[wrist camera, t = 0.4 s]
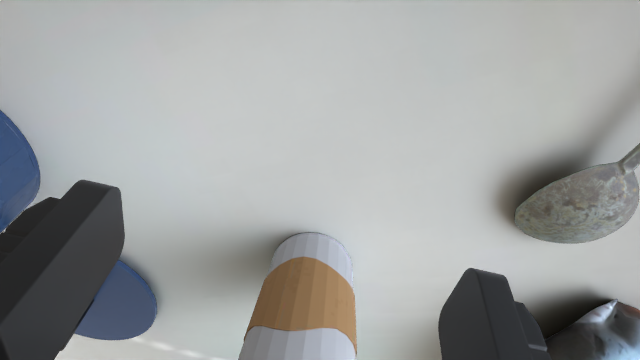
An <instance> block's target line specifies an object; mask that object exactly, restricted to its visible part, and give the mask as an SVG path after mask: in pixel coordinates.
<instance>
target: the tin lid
mask: <svg viewBox="0 0 640 360" xmlns="http://www.w3.org/2000/svg"><path fill="white" fill-rule="evenodd" d="M156 314H157V304H156V300H155V297H154V295H153V293H152V291H151V289H150V288H149V286H148V285H147V284H146V282H145V281H144V280H143V279H142V278H141V277H140V276H139V275H138V274H137V273H136V272H135V271H134V270H132V269H131V268H130V267H128V266H127V265H126V264H124V263H123V262H121V261H120V260H118V261H117V263H116V264H115V266H114V268H113V269H112V271H111V272H110V274H109V275H108V277H107V278H106V280H105V281H104V283H103V285H102V286H101V288H100V289H99V291H98V292H97V294H96V295H95V297H94V298H93V300H92V302H91V303H90V305H89V306H88V308H87V309H86V311H85V312H84V314H83V315H82V317H81V319H80V320H79V322H78V323H77V325H76V326H75V328H74V329H73V331H72V333H71V334H70V336H69V337H68V339H67V340H66V342H65V343H64V345H63V346H62V348H61V350H60V351H62V350H63V349H64V348H65V347H66V345H67V343H68V342H69V340H70V339H71V337H72V336H73V334H74V333H75V334H78V335H81V336H85V337H90V338H95V339H102V340H124V339H129V338H133V337H136V336H139V335H141V334H143V333H144V332H145V331H147V330H148V329H149V328H150V327H151V325H152V324H153V322H154V320H155V318H156Z"/></svg>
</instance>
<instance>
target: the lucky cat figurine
mask: <svg viewBox="0 0 640 360" xmlns="http://www.w3.org/2000/svg"><path fill="white" fill-rule="evenodd" d="M545 343H546V346H547V353H549V354H550V357H551V360H640V310H638V309H636V308H634V307H631V306H628V305H625V304H622V303H620V302H617V299H615V300H613V299H612V301H611V302H609V303H607V304H604V305H602V306H600V307H597V308H595V309H593V310H592V311H590V312H589V313H587V314H586V315H585V316H583V317H582V318H580V319H579V320H578V321H576V322H575V323H573V324H572V325H570V326H569V327H567V328H565V329H563V330H562V331H560V332H558V333H556V334H554V335H553V336H551V337H549V338H547V339H545Z"/></svg>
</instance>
